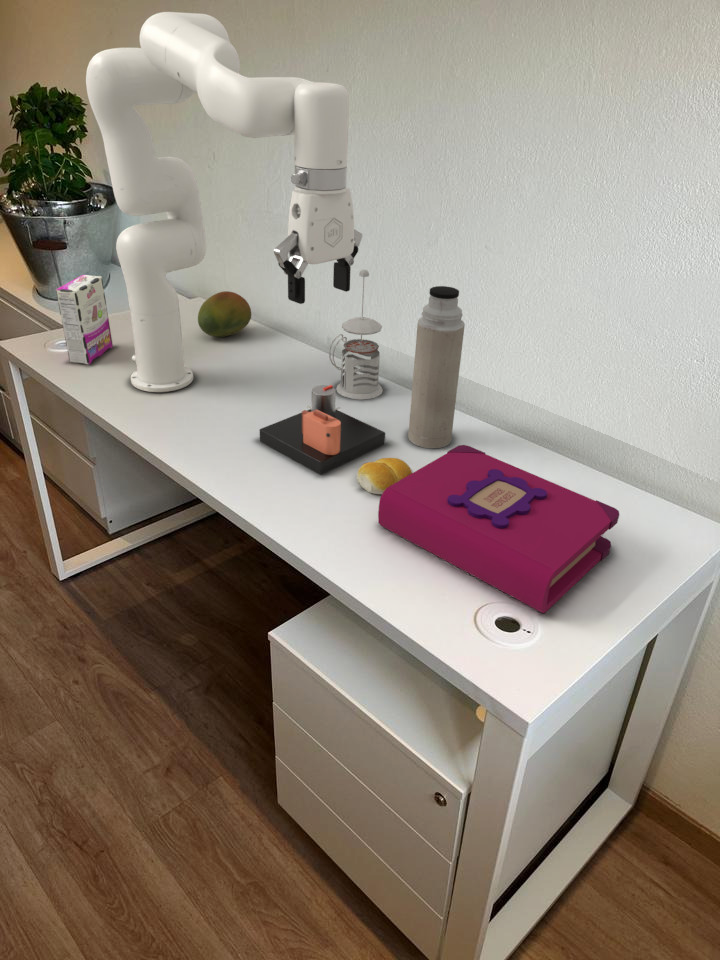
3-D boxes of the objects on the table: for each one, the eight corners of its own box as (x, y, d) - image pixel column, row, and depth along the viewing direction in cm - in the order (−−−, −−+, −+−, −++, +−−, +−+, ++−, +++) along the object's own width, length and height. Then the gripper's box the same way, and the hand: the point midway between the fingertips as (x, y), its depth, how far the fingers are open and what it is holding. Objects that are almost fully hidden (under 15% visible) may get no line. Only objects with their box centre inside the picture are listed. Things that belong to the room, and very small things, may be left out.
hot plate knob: (323, 422, 135) (323, 395, 132) (306, 414, 138) (306, 388, 135) (339, 414, 138) (340, 388, 135) (323, 407, 140) (323, 381, 138)
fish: (296, 439, 129) (295, 408, 126) (310, 433, 131) (310, 402, 128) (330, 457, 124) (330, 425, 121) (344, 450, 126) (345, 418, 123)
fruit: (257, 330, 182) (256, 290, 177) (235, 347, 171) (233, 305, 166) (215, 323, 185) (212, 284, 179) (190, 340, 174) (186, 298, 169)
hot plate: (256, 439, 134) (256, 426, 132) (323, 412, 144) (324, 400, 143) (320, 475, 124) (320, 461, 123) (387, 443, 135) (388, 430, 133)
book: (539, 620, 95) (550, 573, 91) (376, 530, 111) (379, 487, 107) (612, 550, 109) (624, 507, 105) (457, 479, 124) (463, 439, 121)
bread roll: (421, 486, 122) (423, 465, 120) (376, 501, 118) (377, 480, 116) (392, 464, 128) (394, 444, 126) (348, 477, 124) (349, 457, 122)
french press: (391, 395, 152) (399, 274, 139) (340, 404, 148) (343, 280, 135) (369, 377, 160) (375, 260, 147) (320, 385, 155) (321, 265, 142)
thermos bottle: (417, 424, 141) (430, 279, 127) (456, 434, 139) (474, 286, 124) (401, 442, 135) (413, 291, 121) (442, 452, 132) (459, 299, 118)
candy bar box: (93, 344, 169) (82, 273, 161) (113, 347, 169) (103, 275, 160) (67, 363, 160) (54, 288, 151) (88, 365, 159) (76, 290, 151)
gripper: (293, 189, 99) (294, 313, 108) (380, 177, 110) (374, 290, 119) (257, 181, 104) (261, 300, 113) (344, 170, 115) (341, 279, 124)
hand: (319, 295), depth 116 cm, fingers open, 9 cm apart
